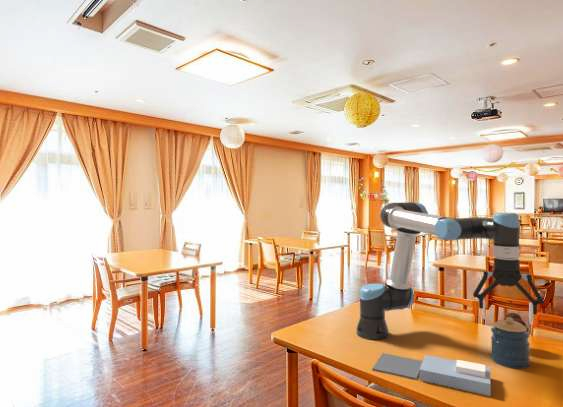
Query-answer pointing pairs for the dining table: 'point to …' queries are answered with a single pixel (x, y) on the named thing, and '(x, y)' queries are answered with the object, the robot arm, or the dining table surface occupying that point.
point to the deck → (453, 375)
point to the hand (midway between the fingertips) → (507, 320)
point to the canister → (510, 344)
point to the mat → (398, 366)
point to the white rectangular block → (470, 368)
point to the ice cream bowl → (516, 319)
